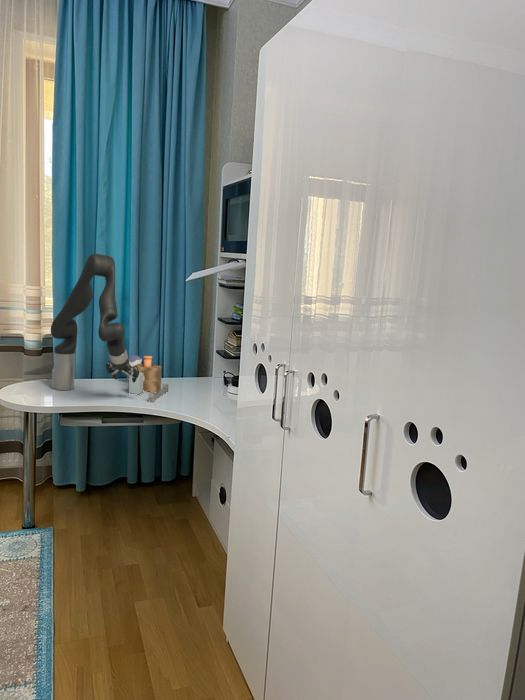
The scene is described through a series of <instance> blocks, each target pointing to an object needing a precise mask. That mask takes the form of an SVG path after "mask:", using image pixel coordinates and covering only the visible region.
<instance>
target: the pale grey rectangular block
mask: <svg viewBox="0 0 525 700" xmlns="http://www.w3.org/2000/svg"><path fill="white" fill-rule="evenodd" d="M131 374H132V375H133V373H131ZM143 375H144V373H140V372H139V376H138V378H137V379H136V382H133V381H132V377H131V376H130V377H129V379H128V393H130V394H137V395H139V396H141V395H142V394H141V393H143V394H144V392H143ZM140 394H141V395H140ZM137 395H136V396H137Z"/></svg>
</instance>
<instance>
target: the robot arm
mask: <svg viewBox="0 0 525 700" xmlns="http://www.w3.org/2000/svg"><path fill="white" fill-rule="evenodd" d="M84 263H85V264H84V267H83V269H82V271H81V274H80V275H79V278H78V279H77V282H76V284H75V285H74V287H73V289H72V290H71V292H70V293H69V296H68V298H67V300H66V301H65V303H64V304H63V307H62V308H61V309H60V311H59V312H58V314H57V315H56V317H55V318H54V319H53V321H52V323H51V325H50V334H51V337H53V338H54V339H59V340H60V339H62V340H63V341H62V342H61V343H59V344H57V345H56V346H55V347H54V354H53V355H54V358H53V359H54V363H53V364H54V365H53V366H54V367H53V368H52V369H51V371H52V372H51V373H52V374H51V388H52V389H54V390H58V391H70V389H71V390H74V389H75V371H76V370H75V369H76V368H75V367H76V366H75V365H76V349H77V343H78V323H77V322H76V320H75V319H74V318H76V317H77V316H79V315H81V314H82V313H83V312H84V311H85V310H87V309H88V307H89V305H90V304H91V302H92V300H93V297H94V294H93V293H94V292H93V288H92V285H91V281H92V278H93V277H94V276H96V277H103V278H105V284H104V285H105V286H104V287H103V289H102V292H101V294H100V296H99V297H98V298H99V299H98V307H99V315H100V318H99V326H98V338H99V340H101V341H102V342H104V343H105V342H106V347H107V351H108V355H109V359H110V360H108V361H107V363H106V365H105V367H106V372H107V374H111V375H112V376H113V379H114V380H117V379H118V377H119V374H118V373H120V374H125V375H127V377H128V376H131V377H132V381H133V382H136V379H137V378H138V376H139V370H138V367H137V366H136V365H135V366H134V367H132V366H131V365H130V364H129V355H128V351H127V349H126V347H125V342H124V339H125V333H126V331H125V330H126V329H125V325H123V324H122V323H121V322H112V321H114V320H116V319H118V315H119V313H118V307H117V301H116V300H117V299H116V264H115V260H114V258H113V257H112V256H110V255H107V254H106V255H105V254H100V253H90V255H89V256H88V257H87V260H86V262H84ZM110 322H112V323H110ZM131 373H133V375H132V374H131ZM73 388H74V389H73Z"/></svg>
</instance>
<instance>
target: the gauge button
mask: <svg viewBox="0 0 525 700" xmlns="http://www.w3.org/2000/svg"><path fill="white" fill-rule="evenodd" d="M143 361H144V367H150V368H151V365H152V361H153V356H152V355H144V356H143Z"/></svg>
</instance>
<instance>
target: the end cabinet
mask: <svg viewBox="0 0 525 700" xmlns="http://www.w3.org/2000/svg"><path fill="white" fill-rule="evenodd" d="M136 366H137V367H138V370H139V372H140V373H144V375H143V390H144V391H150V392H149V393H151V392H157V391H159V390H160V389H162V368H163V367H162V366H163V365H152V364H151V368H150V367H144V364H137V365H136ZM133 367H134V366H133Z"/></svg>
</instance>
